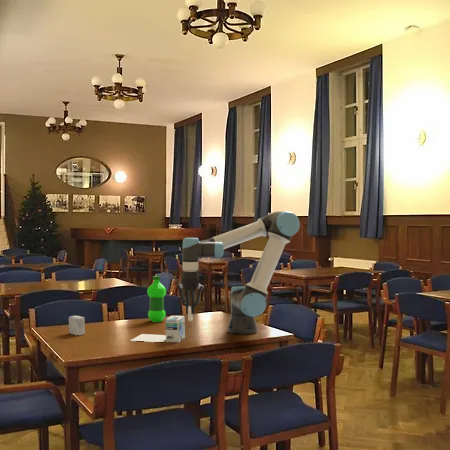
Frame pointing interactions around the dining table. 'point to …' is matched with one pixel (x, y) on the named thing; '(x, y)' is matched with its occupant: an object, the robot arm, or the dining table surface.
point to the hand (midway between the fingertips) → (190, 320)
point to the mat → (150, 338)
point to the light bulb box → (175, 328)
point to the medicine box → (76, 325)
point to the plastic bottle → (156, 300)
